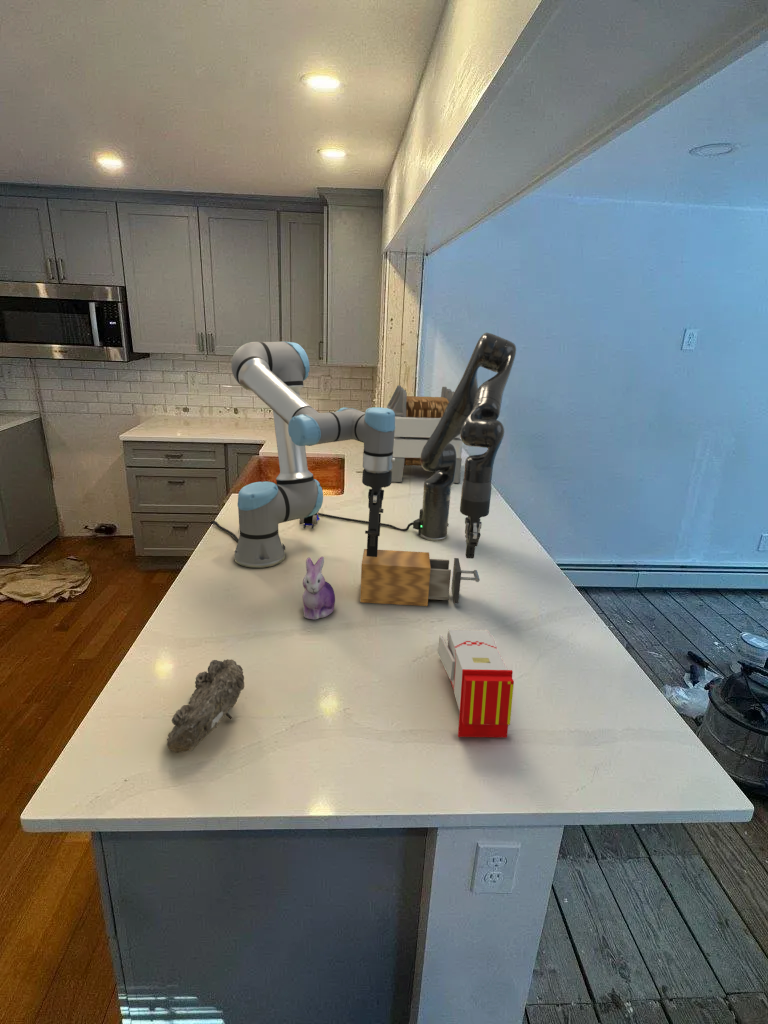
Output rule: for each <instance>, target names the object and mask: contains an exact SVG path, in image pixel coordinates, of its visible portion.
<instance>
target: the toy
mask: <svg viewBox="0 0 768 1024" xmlns="http://www.w3.org/2000/svg"><path fill="white" fill-rule="evenodd" d="M446 640H447V643H446V641H445V639H444V636H443V635H442V634H439V637H438V646H437V656H438V657H439V659H440V661H441V663H442V666H443V668H444V670H445V672H446V674H447V677H448V679H449V681H450V684H451V687H452V690H453V693H454V697H455V701H456V705H457V708H458V711H459V714H458V715H459V716H458V730H457V731H458V732H457V737H458V738H508V731H509V726H510V725H511V717H512V707H513V697H514V696H513V695H514V684H515V680H514V679H513V673H514V671H513V670H512V669H508V667H507V665H506V662H505V661H504V659H503V658H502V655H501V653H500V651H499V649H498V647H497V643H496V639H495V637H494V635H493V634H491V632H490V631H489V629H467V628H466V629H465V628H463V629H461V628H460V629H459V628H448V630H447V639H446Z"/></svg>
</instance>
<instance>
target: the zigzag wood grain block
mask: <svg viewBox="0 0 768 1024" xmlns="http://www.w3.org/2000/svg"><path fill="white" fill-rule="evenodd" d="M430 559H431V556H430V552H429V551H408V550H392V549H391V550H390V549H378V550H377V557H369V556H367V548H364V549H363V553H362V559H361V566H360V567H361V568H360V569H361V570H360V571H361V572H360V595H359V597H360V598H359V602H360V603H366V604H384V605H385V604H386V605H401V606H402V605H403V606H418V607H428V605H429V599H428V594H429V582H430V569H431V567H430Z"/></svg>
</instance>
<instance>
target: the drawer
mask: <svg viewBox="0 0 768 1024" xmlns="http://www.w3.org/2000/svg"><path fill="white" fill-rule="evenodd" d="M460 563H461V562H460V558H459V557H454V558H453V568H452V569H450V559H440V558H430V567H431V569H430V582H429V594H428V600H438V601H439V600H440V601H449V597H450V586H451V594H452V600H453V604H457V605H458V604H459V600H460V590H461V581H474V582H476V583H479V582H480V579H481V578H480V576H479V572H478V570H477V569H474V570H464V569H463V570H462V568H461V567H462V566H461V564H460ZM462 574H471V575H472V574H473V577H472V576H471V577H470V576H469V577H468V576H462ZM451 575H452V576H451ZM451 577H452V578H451ZM450 584H451V585H450Z"/></svg>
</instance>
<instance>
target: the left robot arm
mask: <svg viewBox="0 0 768 1024" xmlns="http://www.w3.org/2000/svg"><path fill="white" fill-rule="evenodd" d="M231 358H232V359H231V365H230V366H231V372H232V376H233V377H234V380H235V381H236V382H237V383H238V384H239V386H241V387H242V389H244V390H247V391H252V392H253V394H254V395H255V396H257V397H258V398H259V399H260V400H261V401H262V402H263V403H264V404H265V405H266V406H267V407H268V408H270V409H271V410H272V416H273V424H274V431H275V440H276V448H277V457H278V465H279V474H278V475H277V476H276V478H275V480H276V481H275V482H276V483H275V482H273V481H269V480H267V481H256V482H251V483H248V484H246V485H244V486H243V487H242V488H240V490H239V491H238V494H237V512H238V513H237V514H238V530H239V537H238V536H237V535H236V534H235V533H234V532H233V531H231V530H229V529H227V528H225V527H223V526H222V525H220V524H219V523H218V522H217V521H216V520H212V521H211V522H210V525H215V527H217V528H218V529H220V530H221V531H224V532H225V533H227V534H229V535H230V536H232V538H233V539H234V540H235V542H237V543H236V547H235V550H234V561H235V563H236V564H237V565H239V566H242V567H246V568H249V569H250V568H251V569H264V568H265V569H266V568H271V567H274V566H276V565H279V564H281V563H282V562H284V561H285V559H286V552H285V551H286V545H285V544H284V543H283V542H282V541H281V537H280V534H279V524H282V523H287V522H291V521H296V520H300V518H307V517H308V516H312V515H315V514H316V513H317V512H318V513H319V511H320V510H321V508H322V506H323V503H324V491H323V487H322V486H321V484H320V482H319V481H318V480H317V479H315V477H314V473H312V472H311V471H310V470H309V468H308V460H307V459H308V458H307V451H306V447H307V446H308V447H312V446H315V445H322V444H329V443H336V442H343V441H351V440H354V441H357V442H359V443H363V452H362V468H363V470H362V478H361V483H362V484H363V485H364V486H366V487H369V489H368V493H367V499H368V504H367V507H368V509H369V510H368V511H369V512H368V513H369V514H368V521H369V523H368V525H367V530H365V531H364V534H366V535H367V540H366V549H367V556H369V557H377V550H379V537H380V535H381V525H380V523H381V518H382V514H383V513H384V508H383V501H384V497H385V496H384V495H385V490H384V489H383V488H389V487H390V486H391V485H392V482H391V480H392V472H391V469H392V462H394V461H395V458H392V457H393V446H394V432H395V413H394V411H393V410H391V409H388V408H387V407H378V406H373V407H368V408H366V410H365V411H362V410H359V409H357V408H353V407H340V408H339V409H338V410H336V411H329V412H328V411H327V412H318V411H317V410H316V409H315V408H314V407H313V406H312V405H310V404H309V403H308V402H307V401H306V400H305V399H304V398H302V397H301V395H300V393H301V391H302V390H303V388H304V381H306V379H308V377H309V373H310V360H309V356H308V354H307V353H306V350H305V349H304V348H303V347H302V345H300V344H299V343H297V342H293V341H286V340H284V341H251V342H247V343H244V344H243V345H241V346H239V347H238V349H236V351H235V352H234V354H233V356H232V357H231Z"/></svg>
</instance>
